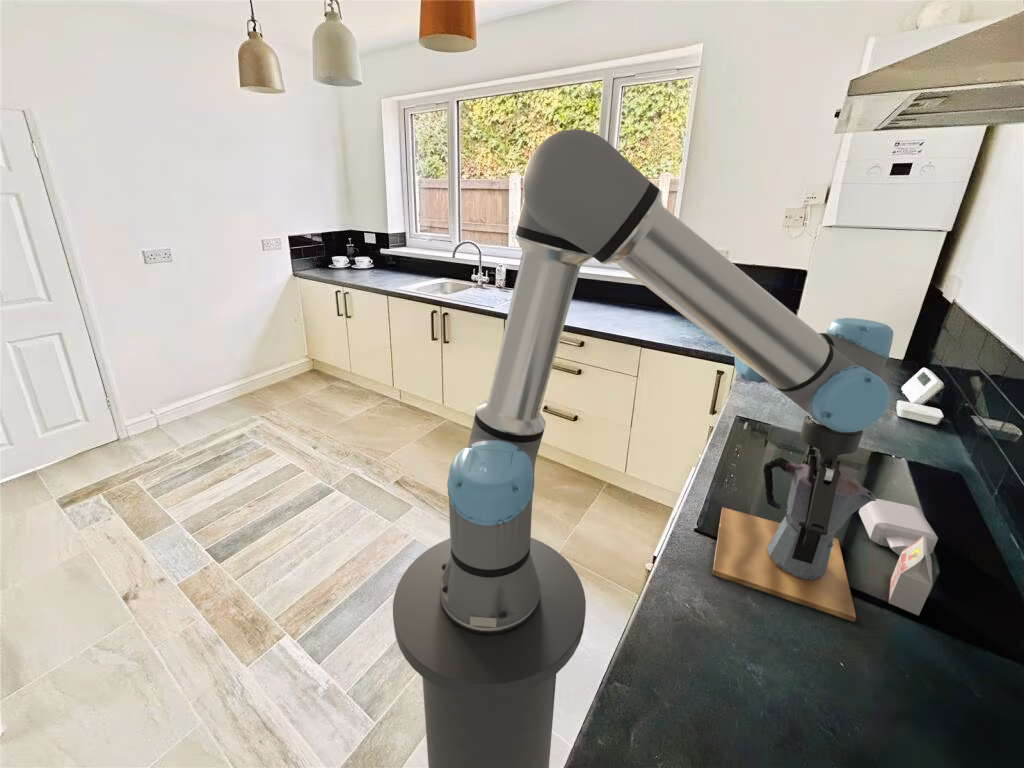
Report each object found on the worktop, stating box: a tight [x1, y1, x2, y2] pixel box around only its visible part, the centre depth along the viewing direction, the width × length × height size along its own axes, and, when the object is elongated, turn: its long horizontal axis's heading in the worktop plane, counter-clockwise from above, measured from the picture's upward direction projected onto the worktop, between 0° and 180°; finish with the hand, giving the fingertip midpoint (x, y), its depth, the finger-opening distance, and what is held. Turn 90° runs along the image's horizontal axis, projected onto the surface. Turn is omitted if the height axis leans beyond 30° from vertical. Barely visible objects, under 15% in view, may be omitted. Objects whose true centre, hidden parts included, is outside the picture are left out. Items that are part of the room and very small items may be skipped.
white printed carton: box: [888, 535, 933, 617], centre depth 72 cm, size 4×7×10 cm, turn 140°
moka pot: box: [763, 457, 877, 580], centre depth 76 cm, size 10×15×20 cm, turn 53°
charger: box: [858, 498, 939, 559], centre depth 84 cm, size 5×9×15 cm
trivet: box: [711, 506, 857, 623], centre depth 81 cm, size 20×20×1 cm
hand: (799, 536), depth 77 cm, fingers open, 12 cm apart
